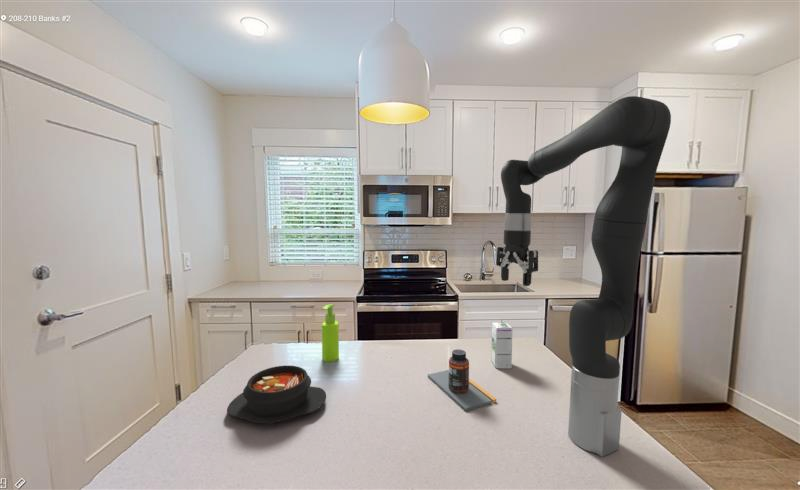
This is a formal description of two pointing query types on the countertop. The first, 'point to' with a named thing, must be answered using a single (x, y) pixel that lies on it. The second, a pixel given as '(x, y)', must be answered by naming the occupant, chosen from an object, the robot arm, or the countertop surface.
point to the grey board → (467, 399)
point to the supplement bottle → (458, 372)
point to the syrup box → (501, 345)
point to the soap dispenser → (330, 336)
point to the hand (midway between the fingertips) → (515, 283)
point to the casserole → (277, 396)
